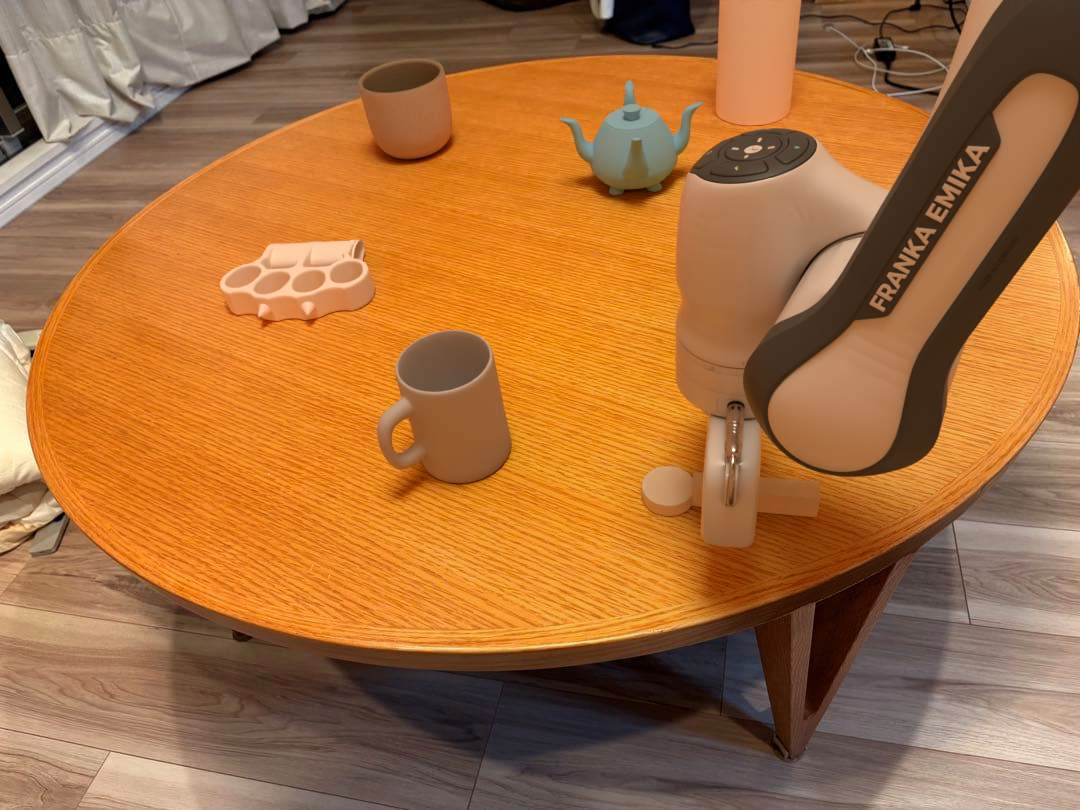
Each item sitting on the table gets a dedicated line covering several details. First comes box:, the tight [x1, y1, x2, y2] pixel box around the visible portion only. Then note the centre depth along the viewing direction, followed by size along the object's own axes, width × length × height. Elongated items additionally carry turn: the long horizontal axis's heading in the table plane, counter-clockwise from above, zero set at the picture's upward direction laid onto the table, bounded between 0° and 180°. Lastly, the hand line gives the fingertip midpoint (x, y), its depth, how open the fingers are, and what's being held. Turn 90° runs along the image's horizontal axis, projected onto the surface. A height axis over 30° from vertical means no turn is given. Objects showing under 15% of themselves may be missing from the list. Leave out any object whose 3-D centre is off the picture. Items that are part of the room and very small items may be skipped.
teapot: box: [558, 80, 703, 196], centre depth 106 cm, size 13×13×10 cm
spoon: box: [641, 465, 821, 518], centre depth 68 cm, size 14×4×2 cm, turn 78°
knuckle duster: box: [219, 238, 376, 322], centre depth 98 cm, size 3×18×15 cm
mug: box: [376, 329, 512, 484], centre depth 72 cm, size 12×8×11 cm
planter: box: [357, 58, 453, 160], centre depth 120 cm, size 12×12×11 cm
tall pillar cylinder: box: [715, 0, 802, 127], centre depth 112 cm, size 11×11×25 cm
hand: (729, 487), depth 67 cm, fingers open, 6 cm apart
